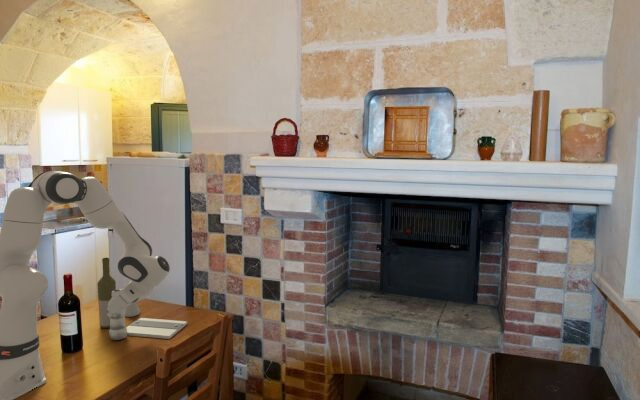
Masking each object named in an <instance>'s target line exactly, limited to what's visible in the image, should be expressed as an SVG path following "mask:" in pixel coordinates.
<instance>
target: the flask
mask: <svg viewBox="0 0 640 400" xmlns="http://www.w3.org/2000/svg"><path fill="white" fill-rule="evenodd" d="M140 314H141V311H140V308H139V306H138V304H137V301H136V302H134V303H133V304H131V305H129V306H128V307H127V308H125V318H126V317H127V318H132V317H136V316H139V315H140Z"/></svg>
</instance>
